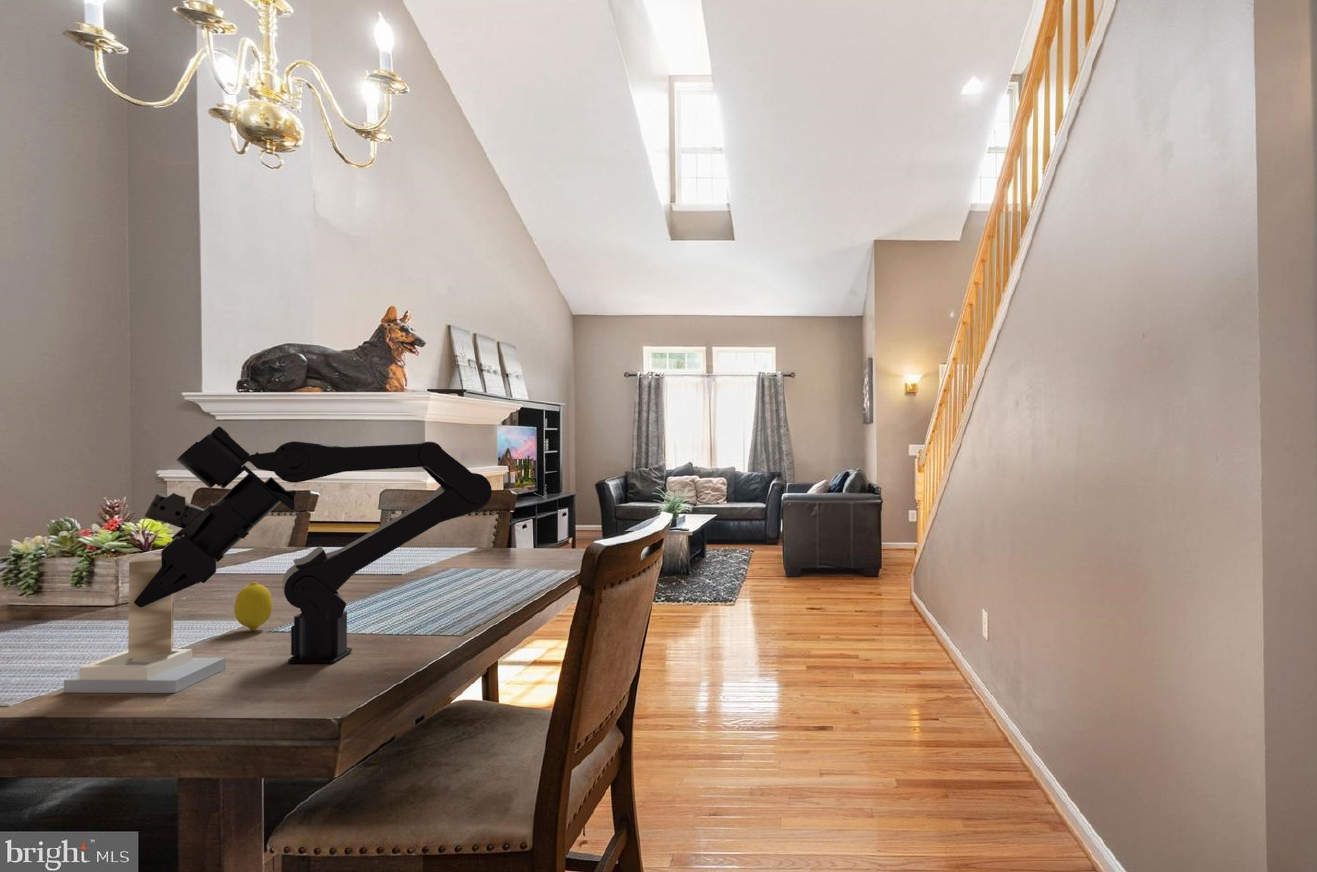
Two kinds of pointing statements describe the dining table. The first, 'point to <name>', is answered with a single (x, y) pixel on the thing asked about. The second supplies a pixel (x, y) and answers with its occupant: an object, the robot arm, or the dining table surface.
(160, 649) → the beech pillar
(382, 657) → the dining table surface
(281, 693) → the dining table surface
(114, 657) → the foundation plate
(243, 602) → the lemon
